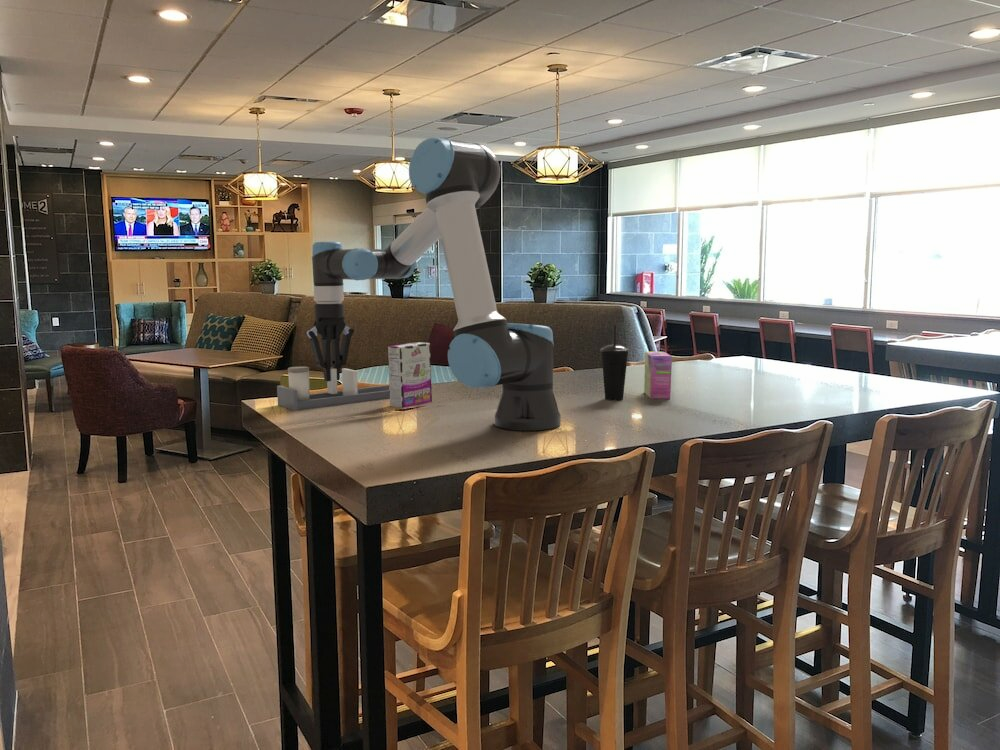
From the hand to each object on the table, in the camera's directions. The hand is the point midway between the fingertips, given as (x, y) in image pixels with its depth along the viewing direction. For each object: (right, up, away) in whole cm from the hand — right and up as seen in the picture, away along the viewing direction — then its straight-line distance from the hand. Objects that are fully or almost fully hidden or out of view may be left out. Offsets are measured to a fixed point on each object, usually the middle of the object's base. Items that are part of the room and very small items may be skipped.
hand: (332, 393), depth 207 cm
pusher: (+5, -2, +4) cm, 7 cm away
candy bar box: (+21, -4, -2) cm, 21 cm away
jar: (-7, -3, -5) cm, 9 cm away
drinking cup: (+75, -2, +8) cm, 75 cm away
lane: (+2, -3, +2) cm, 5 cm away
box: (+87, -1, +13) cm, 88 cm away
